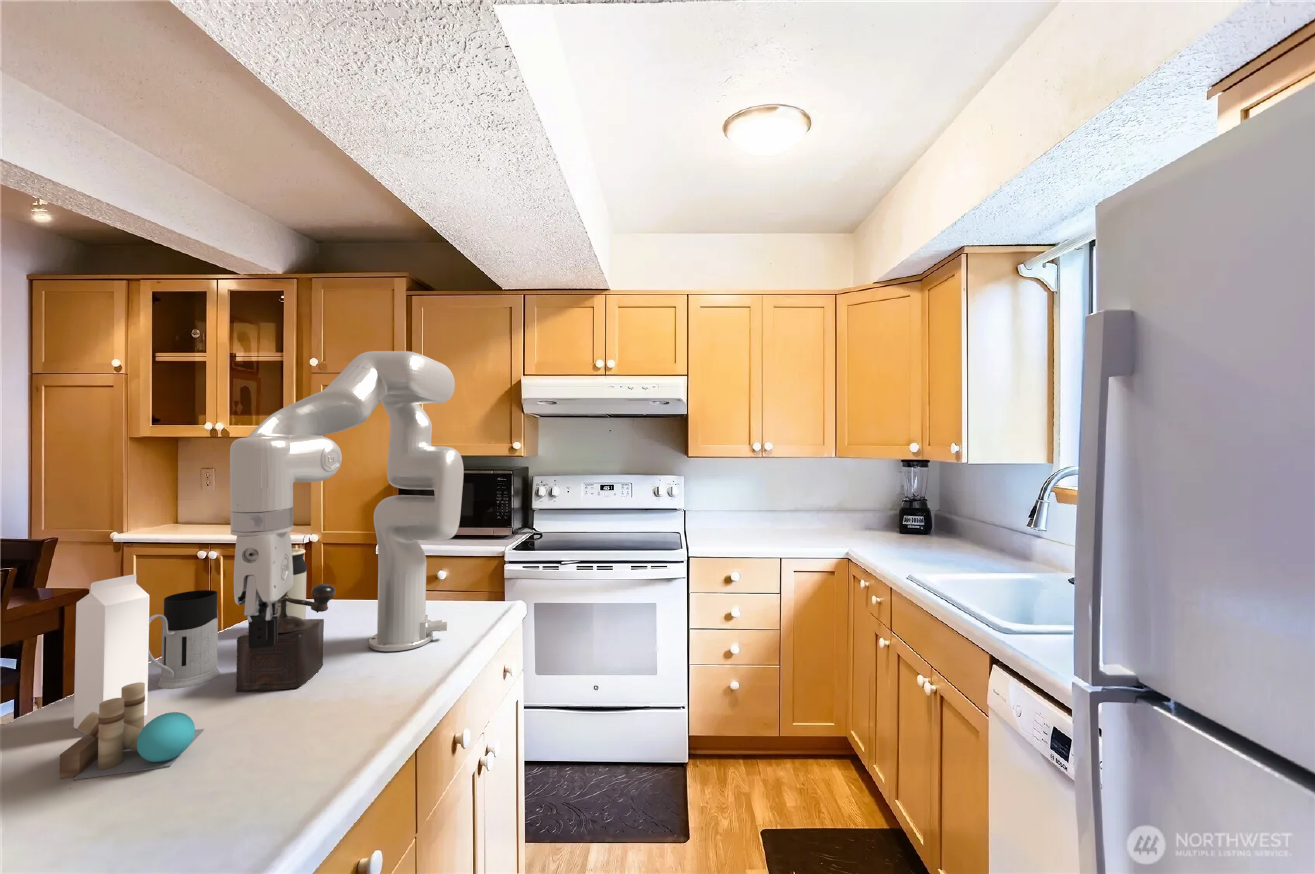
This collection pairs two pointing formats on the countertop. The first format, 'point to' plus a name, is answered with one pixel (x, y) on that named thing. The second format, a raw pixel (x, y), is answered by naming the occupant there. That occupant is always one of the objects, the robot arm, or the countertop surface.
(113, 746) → the rear pin
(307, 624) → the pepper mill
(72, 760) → the back wall
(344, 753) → the countertop surface
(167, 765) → the pin deck mark
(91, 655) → the milk
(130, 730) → the front pin
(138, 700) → the rear pin
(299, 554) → the travel mug
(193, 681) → the glass holder
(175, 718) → the ball
